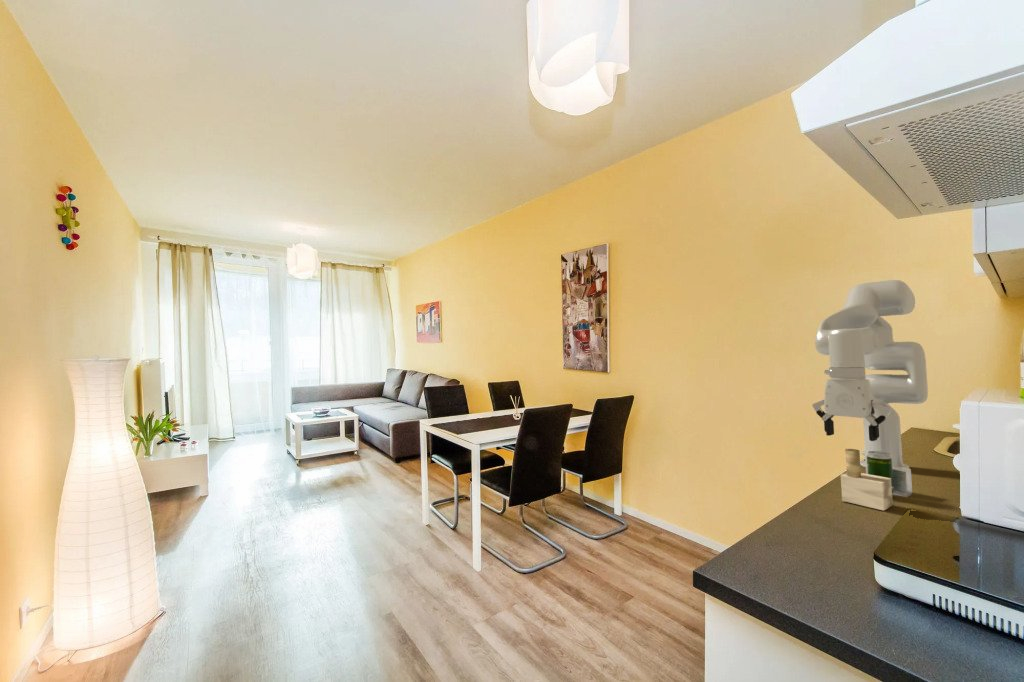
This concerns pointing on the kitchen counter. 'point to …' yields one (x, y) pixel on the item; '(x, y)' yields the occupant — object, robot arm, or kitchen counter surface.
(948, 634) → the kitchen counter surface
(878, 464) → the beer can
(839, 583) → the kitchen counter surface
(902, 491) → the grey box
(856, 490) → the wooden block with peg
